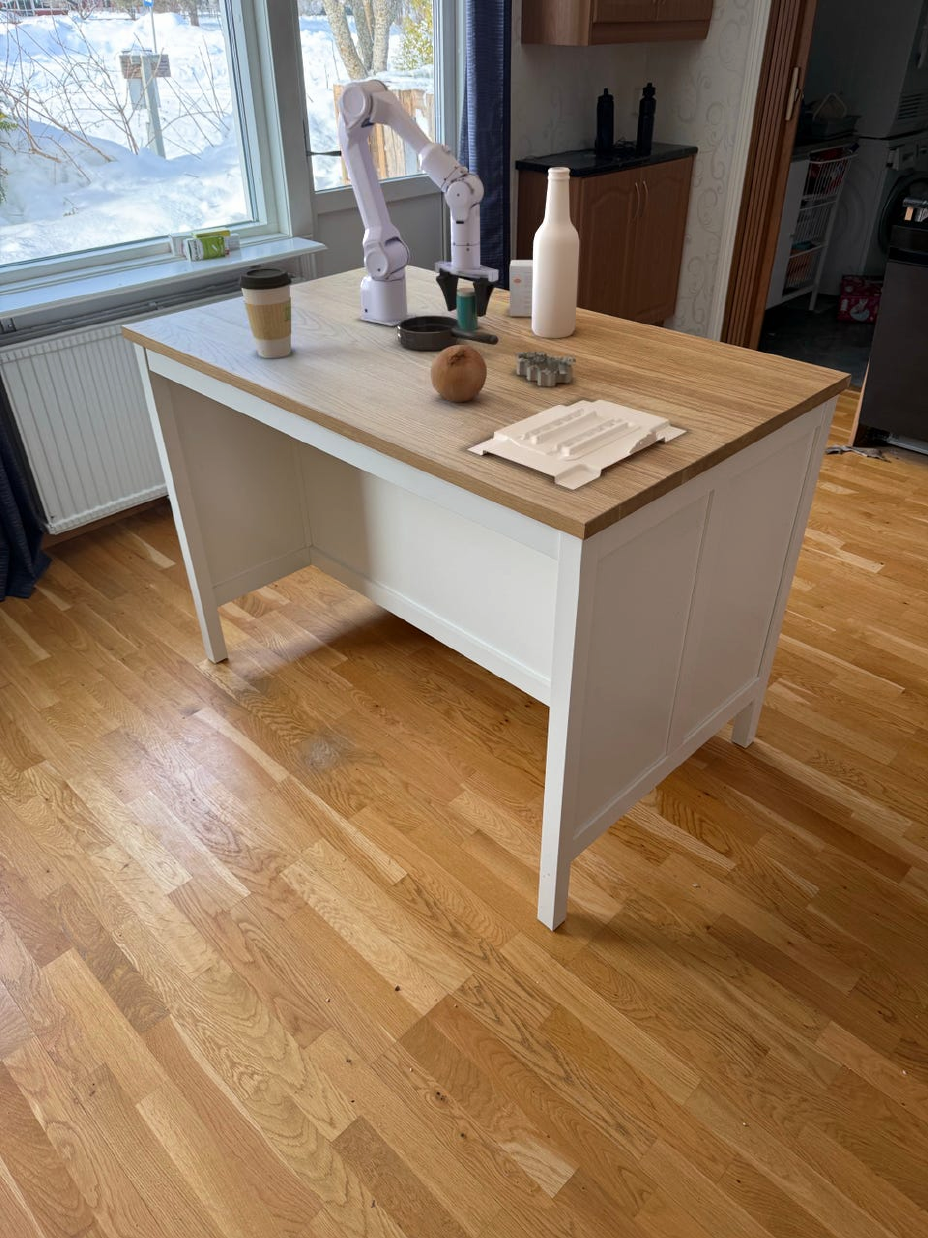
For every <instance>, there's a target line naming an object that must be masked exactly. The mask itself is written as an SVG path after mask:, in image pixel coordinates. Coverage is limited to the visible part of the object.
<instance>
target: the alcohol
mask: <svg viewBox="0 0 928 1238" xmlns="http://www.w3.org/2000/svg"><path fill="white" fill-rule="evenodd" d="M547 172H548V176H547V180H548V183H547V194H546V204H545V214H544V218H543V222H542V223H541V225H540V226H539V228H538V229H537V231H536V232H535V234H534V239H533V247H532V248H533V249H532V250H533V251H532V260H533V291H532V317H531V330H532V332H533V334H534V335H535V336H537V337H541V338H544V339H545V338H546V339H562V338H567V337H569V336H571V335H573V333H574V331H575V330H576V317H577V302H578V301H577V299H578V298H577V297H578V281H579V279H578V277H579V259H580V258H579V257H580V238H579V233H578V231H577V228H576V227H575V226H574V224H573V223H572V220H571V213H570V178H571V176H570V172H571V170H570V169H569V168H568V167H564V166H563V167H561V166H559V167H549V169H548V171H547Z"/></svg>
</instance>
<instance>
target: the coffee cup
mask: <svg viewBox="0 0 928 1238" xmlns="http://www.w3.org/2000/svg"><path fill="white" fill-rule="evenodd" d="M292 283H293V280H292V278H291V276H290V275H289V273H288V271H287V269H285V268H281V267H274V266H273V267H271V266H265V267H255V268H249V269H246V270H243V271H241V273H240V278H239V280H238V288H241V292H242V295H243V299H244V300H243V303H244V307H245V310H246V314H247V318H248V321H249V325H250V329H251V333H252V337H253V338H254V341H255V345H256V349H257V353H258V356H259V357H261V358H265V359H278V358H283V357H287V356H288V355H290V354H291V353H292V335H291V334H292V297H291V284H292Z"/></svg>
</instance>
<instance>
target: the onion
mask: <svg viewBox="0 0 928 1238" xmlns="http://www.w3.org/2000/svg"><path fill="white" fill-rule="evenodd" d="M487 370H488V369H487V364H486V362H485V359H484V358H483V356H482V354H481V353H480V352H479V351H477V350H476V349H475V348H473V347H471V346H470V345H469V346H468V345H464V344H456V345H454V346H451V347H448V348H446V349H443V350H441V351H440V352H439V354H437V356H436V357H435V358H434V360H433V361H432V363H431V368H430V381H431V384H432V387H433V388H434V390H435V392H436V393H437V396H438V397H439V398H440V399H442V400H443V399H444V400H448V401H451V402H455V403H463V402H469V401H471V400H472V399H474V398H475V397H477V396H478V395H479V393H480V392H481V391H482V389H483V388H484V386H485V384H486V381H487V375H488V372H487Z"/></svg>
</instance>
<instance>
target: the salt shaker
mask: <svg viewBox="0 0 928 1238" xmlns="http://www.w3.org/2000/svg"><path fill="white" fill-rule="evenodd" d="M456 320H458V321H459V322H460V328H461V329H466V330H471V331H475V330H476V329H478V328H479V317H478V316H477V304H476V295H475V290H474V287H461V288H457V294H456Z"/></svg>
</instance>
